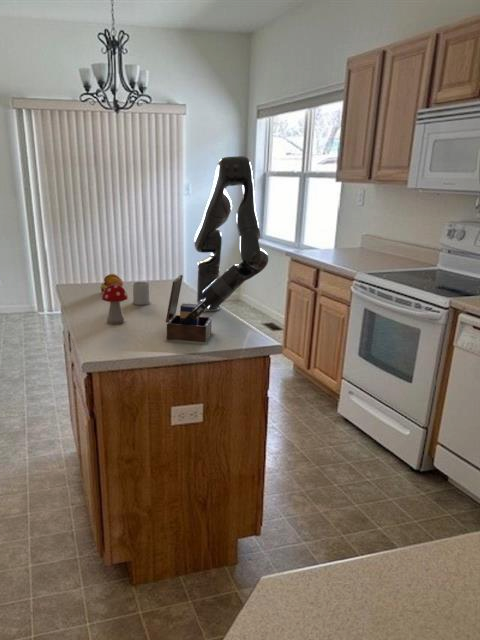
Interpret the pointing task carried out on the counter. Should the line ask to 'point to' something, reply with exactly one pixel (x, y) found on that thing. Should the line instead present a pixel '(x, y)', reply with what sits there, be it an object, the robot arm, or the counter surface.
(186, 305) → the cookie packet
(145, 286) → the cup
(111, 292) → the decorative mushroom
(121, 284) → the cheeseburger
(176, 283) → the lid
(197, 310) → the robot arm
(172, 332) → the chest
